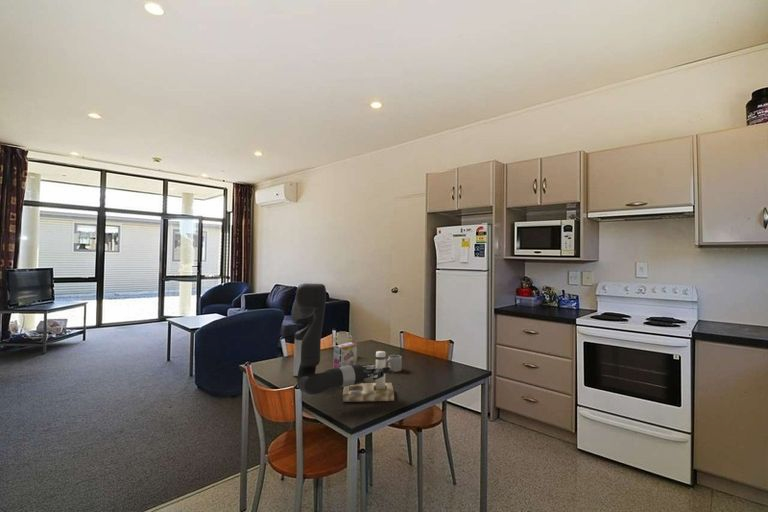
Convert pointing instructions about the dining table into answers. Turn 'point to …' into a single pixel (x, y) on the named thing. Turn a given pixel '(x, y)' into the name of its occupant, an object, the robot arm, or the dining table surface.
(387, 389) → the socket board
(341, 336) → the character mug
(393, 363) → the mug
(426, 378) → the dining table surface
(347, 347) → the candy bar box
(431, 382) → the dining table surface
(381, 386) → the white tall cylinder
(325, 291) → the robot arm
